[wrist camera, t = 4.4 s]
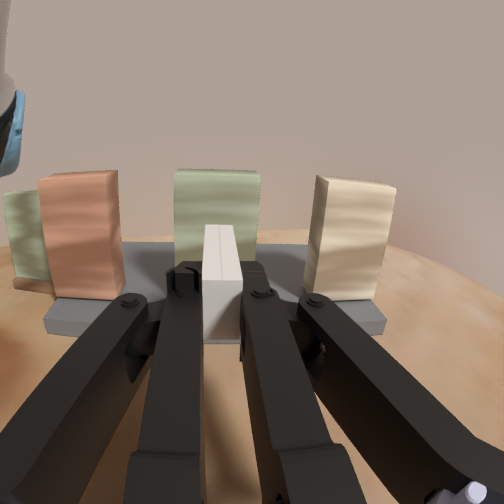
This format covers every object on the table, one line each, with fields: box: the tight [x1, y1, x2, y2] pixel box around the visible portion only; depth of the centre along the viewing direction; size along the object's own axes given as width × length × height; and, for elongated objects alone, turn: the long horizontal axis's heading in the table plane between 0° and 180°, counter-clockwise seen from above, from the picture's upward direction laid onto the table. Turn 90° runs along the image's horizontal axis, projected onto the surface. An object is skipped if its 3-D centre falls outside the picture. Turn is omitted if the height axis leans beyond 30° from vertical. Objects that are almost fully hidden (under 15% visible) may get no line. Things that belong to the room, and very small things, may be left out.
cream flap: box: [302, 175, 396, 301], centre depth 26 cm, size 3×6×10 cm, turn 97°
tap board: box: [43, 242, 387, 344], centre depth 30 cm, size 17×28×2 cm, turn 97°
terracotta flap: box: [38, 170, 126, 300], centre depth 23 cm, size 3×6×10 cm, turn 97°
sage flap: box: [174, 169, 261, 267], centre depth 24 cm, size 3×6×10 cm, turn 97°
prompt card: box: [2, 190, 55, 294], centre depth 25 cm, size 6×3×10 cm, turn 92°
